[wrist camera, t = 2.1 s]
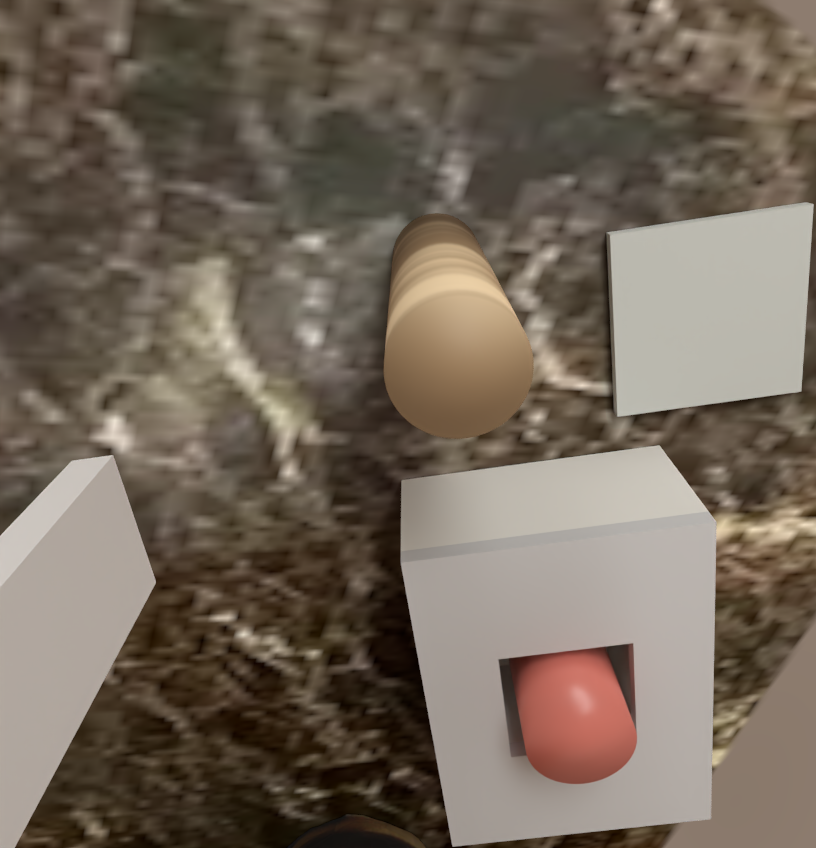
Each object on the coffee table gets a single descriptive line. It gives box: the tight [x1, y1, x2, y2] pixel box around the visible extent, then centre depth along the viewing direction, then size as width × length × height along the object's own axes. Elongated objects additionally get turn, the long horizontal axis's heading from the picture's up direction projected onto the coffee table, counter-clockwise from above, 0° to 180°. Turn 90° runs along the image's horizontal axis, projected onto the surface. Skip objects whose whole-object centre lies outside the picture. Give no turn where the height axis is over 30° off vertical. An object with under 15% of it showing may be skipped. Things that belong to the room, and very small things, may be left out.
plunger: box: [509, 647, 637, 784], centre depth 32 cm, size 4×4×5 cm
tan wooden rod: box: [384, 213, 534, 439], centre depth 24 cm, size 4×4×14 cm
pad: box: [606, 202, 814, 417], centre depth 31 cm, size 8×8×1 cm
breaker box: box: [401, 445, 716, 847], centre depth 34 cm, size 16×12×7 cm
